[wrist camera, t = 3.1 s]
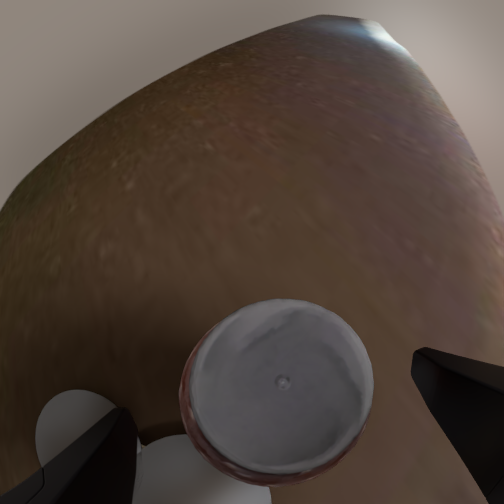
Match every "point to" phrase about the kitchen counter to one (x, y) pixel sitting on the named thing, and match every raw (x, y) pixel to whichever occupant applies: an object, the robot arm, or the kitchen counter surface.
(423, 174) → the kitchen counter surface
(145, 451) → the board
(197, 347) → the supplement bottle
